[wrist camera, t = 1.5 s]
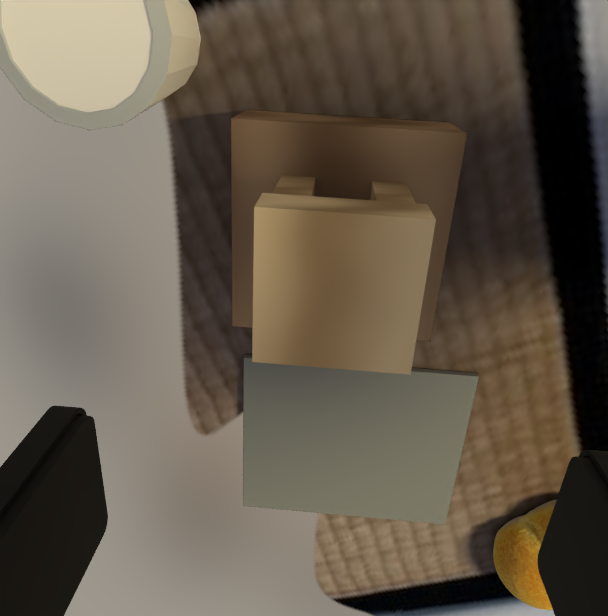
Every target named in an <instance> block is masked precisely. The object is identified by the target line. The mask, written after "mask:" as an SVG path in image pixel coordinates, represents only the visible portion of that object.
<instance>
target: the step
mask: <svg viewBox="0 0 608 616" xmlns="http://www.w3.org/2000/svg"><path fill="white" fill-rule="evenodd" d="M466 138H467V133H466V132H464V131H462V130H461V129H459V128H458V127H456V126H455V125H453V124H451V123H448V122H432V121H416V120H401V119H385V118H369V117H353V116H337V115H321V114H305V113H289V112H274V111H258V110H245V111H243V112H242V113H240V114H238V115H236V116H235V117H233V118H231V190H232V326H236V327H249V328H253V260H254V206H255V205H256V203H257V201H258V200H259V198H260V196H261V194H262V193H273V191H274V189H275V187H276V185H277V183H278V181H279V180H280V178H281V176H282V175H286V176H301V177H315V193H314V196H316V197H330V198H345V199H359V200H370V196H371V186H372V181H376V182H390V183H405V184H407V186H408V188H409V190H410V192H411V194H412V196H413V198H414V200H415V203H418V204H428V206H429V208H430V210H431V212H432V213H433V215H434V217H435V219H436V223H435V229H434V235H433V241H432V247H431V253H430V259H429V266H428V272H427V278H426V284H425V290H424V296H423V302H422V308H421V314H420V320H419V327H418V333H417V339H416V341H428V342H430V341H431V335H432V330H433V324H434V318H435V313H436V307H437V302H438V296H439V290H440V285H441V279H442V273H443V268H444V262H445V256H446V251H447V245H448V239H449V234H450V228H451V222H452V217H453V211H454V206H455V200H456V194H457V189H458V183H459V177H460V172H461V166H462V160H463V155H464V149H465V143H466Z"/></svg>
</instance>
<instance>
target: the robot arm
mask: <svg viewBox="0 0 608 616" xmlns="http://www.w3.org/2000/svg"><path fill="white" fill-rule="evenodd" d="M107 519H108V514H107V507H106V500H105V494H104V486H103V479H102V472H101V464H100V457H99V451H98V443H97V436H96V429H95V423H94V419H93V417H91V416H87V415H86V412H85V410H84V409H82V408H76V407H64V406H52V407H50V408H49V409H48V410H47V411H46V413H45V414H44V415H43V416H42V418H41V419H40V420H39V421H38V422H37V424H36V425H35V426H34V427H33V428H32V430H31V431H30V432H29V433H28V435H27V436H26V437H25V438H24V439H23V440H22V442H21V443H20V444H19V445H18V447H17V448H16V449H15V450H14V451H13V453H12V454H11V455H10V456H9V457H8V459H7V460H6V461H5V462H4V463H3V465H2V466H1V467H0V616H64V614H65V612H66V610H67V608H68V606H69V604H70V602H71V600H72V598H73V596H74V594H75V592H76V590H77V588H78V586H79V584H80V582H81V580H82V577H83V576H84V574H85V572H86V570H87V568H88V565H89V563H90V561H91V560H92V557H93V555H94V553H95V551H96V549H97V547H98V545H99V543H100V541H101V539H102V537H103V535H104V533H105V530H106V525H107ZM537 562H538V571H539V574H540V577H541V580H542V582H543V585H544V587H545V590H546V593H547V595H548V598H549V600H550V603H551V606H552V608H553V611H554V614H555V616H608V452H607V451H595V450H583V451H582V452H581V453H580V455H579V457H573V458H572V459H571V460H570V462H569V465H568V468H567V471H566V474H565V477H564V480H563V483H562V486H561V489H560V491H559V494H558V497H557V500H556V503H555V506H554V509H553V512H552V515H551V518H550V520H549V523H548V526H547V529H546V532H545V535H544V538H543V541H542V544H541V547H540V550H539V553H538V559H537Z"/></svg>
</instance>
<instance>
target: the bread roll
mask: <svg viewBox="0 0 608 616" xmlns="http://www.w3.org/2000/svg"><path fill="white" fill-rule="evenodd" d="M556 500H557V499H555V500H552V501H549V502H547V503H544V504H542V505H540V506H538V507H537V508H535V509H533V510H531V511H529V512H528V513H527V514H526V515H523V516H519V517H516V518H514V519H512V520H511V521H509V522H507V523H506V524H505V525H503V526H502V528H501V529H500V530H499V531H498V532H497V534H496V537H495V541H494V548H493V559H494V564H495V568H496V571H497V573H498V575H499V578H500V579H501V581H502V582H503V584H504V585H505V586H506V588H507V589H508V590H509V591H510V592H511V593H512V594H513V595H514V596H515V597H516V598H518V599H519V600H521V601H522V602H524V603H526V604H528V605H530V606H533V607H535V608H539V609H545V610H553V608H552V606H551V603H550V600H549V598H548V595H547V593H546V590H545V587H544V585H543V582H542V580H541V577H540V574H539V571H538V562H537V559H538V553H539V550H540V547H541V544H542V541H543V538H544V535H545V532H546V529H547V526H548V523H549V520H550V518H551V515H552V512H553V509H554V506H555V503H556Z"/></svg>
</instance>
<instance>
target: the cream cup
mask: <svg viewBox="0 0 608 616" xmlns="http://www.w3.org/2000/svg"><path fill="white" fill-rule="evenodd" d="M200 43H201V36H200V32H199V27H198V22H197V17H196V13H195V11H194V9H193V8H192V6H191V4H190V3H189V1H188V0H0V68H1V70H2V71H3V72H4V74H5V75H6V76H7V78H8V79H9V80H10V82H11V83H12V84H13V86H14V87H15V88H16V90H17V91H18V92H19V94H20V95H21V96H22V98H23V99H24V100H26V101H27V102H29V103H30V104H32V105H33V106H34V107H36V108H37V109H39V110H40V111H41V112H43V113H44V114H46V115H47V116H49V117H50V118H52V119H53V120H54V121H57V122H60V123H64V124H68V125H72V126H76V127H80V128H83V129H87V130H94V129H100V128H107V127H113V126H119V125H123V124H125V123H126V122H128V121H130V120H131V119H133V118H134V117H136V116H137V115H139V114H140V113H142V112H144V111H145V110H147V109H148V108H150V107H152V106H153V105H155V104H156V103H158V102H160V101H161V100H163V99H164V98H166V97H168V96H169V95H170V94H172V93H173V92H175V91H176V90H178V89H179V88H180V87H182V86H183V85H185V84H186V83H187V81H188V79H189V77H190V76H191V74H192V72H193V71H194V69H195V67H196V65H197V64H198V57H199V50H200Z"/></svg>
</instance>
